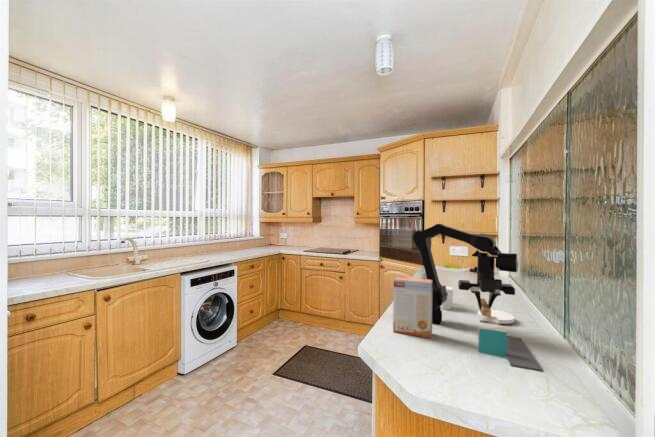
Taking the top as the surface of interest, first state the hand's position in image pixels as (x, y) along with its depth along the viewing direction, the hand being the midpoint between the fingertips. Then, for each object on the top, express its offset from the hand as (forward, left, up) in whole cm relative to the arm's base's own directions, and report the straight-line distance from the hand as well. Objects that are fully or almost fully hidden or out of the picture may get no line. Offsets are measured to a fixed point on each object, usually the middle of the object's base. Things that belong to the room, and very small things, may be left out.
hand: (484, 309), depth 111 cm
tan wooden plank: (0, 0, -2) cm, 2 cm away
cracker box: (-26, -10, -10) cm, 29 cm away
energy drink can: (-24, +36, -10) cm, 44 cm away
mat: (+8, -12, -10) cm, 17 cm away
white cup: (-14, +28, -10) cm, 33 cm away
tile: (0, -17, -6) cm, 18 cm away
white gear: (+7, +20, -10) cm, 24 cm away
